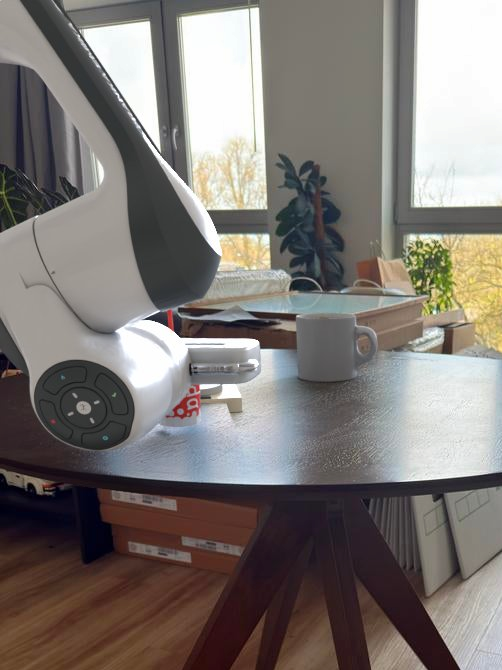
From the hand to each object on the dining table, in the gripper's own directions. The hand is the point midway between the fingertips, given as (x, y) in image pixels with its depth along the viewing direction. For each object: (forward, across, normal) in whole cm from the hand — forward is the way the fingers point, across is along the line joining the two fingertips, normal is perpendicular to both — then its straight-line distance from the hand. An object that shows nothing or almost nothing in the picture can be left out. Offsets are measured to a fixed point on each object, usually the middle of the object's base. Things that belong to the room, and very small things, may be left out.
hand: (174, 349), depth 80 cm
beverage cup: (-1, 0, +8) cm, 8 cm away
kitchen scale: (+20, +3, +10) cm, 23 cm away
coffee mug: (+41, -17, +10) cm, 46 cm away
